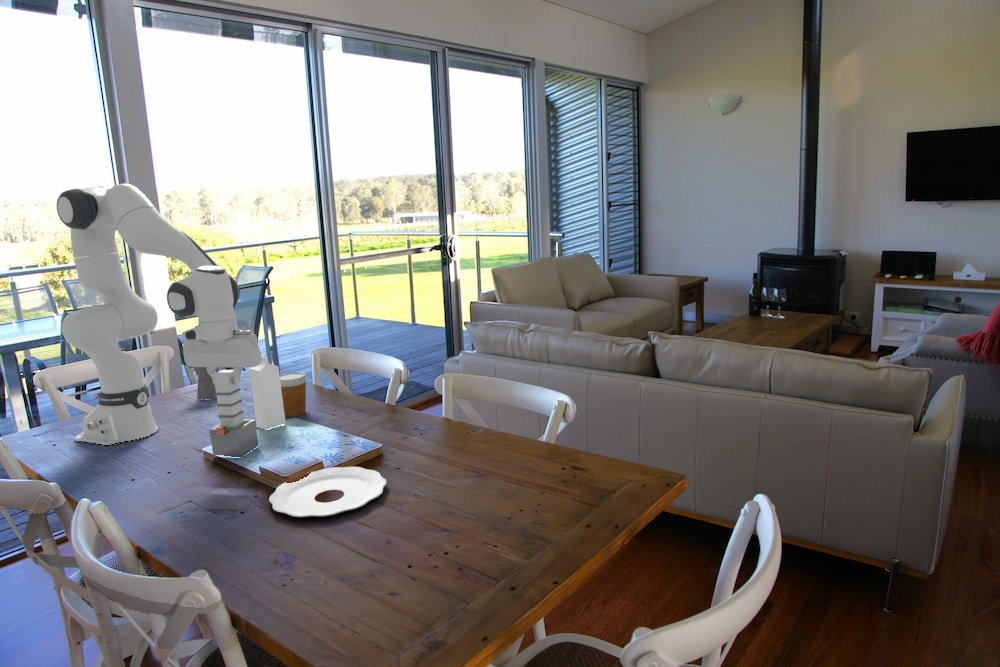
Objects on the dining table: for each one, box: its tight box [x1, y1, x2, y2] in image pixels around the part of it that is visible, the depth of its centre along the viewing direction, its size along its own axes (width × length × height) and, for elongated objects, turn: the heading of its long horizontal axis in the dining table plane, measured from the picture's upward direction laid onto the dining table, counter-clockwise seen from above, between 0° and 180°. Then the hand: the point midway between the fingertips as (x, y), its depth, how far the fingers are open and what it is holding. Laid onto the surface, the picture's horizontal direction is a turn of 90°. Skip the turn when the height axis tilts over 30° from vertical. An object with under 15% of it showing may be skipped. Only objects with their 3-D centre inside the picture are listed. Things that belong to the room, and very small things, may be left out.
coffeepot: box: [192, 367, 231, 401], centre depth 235 cm, size 15×9×18 cm, turn 125°
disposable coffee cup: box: [279, 372, 308, 417], centre depth 211 cm, size 10×10×12 cm
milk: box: [248, 355, 287, 430], centre depth 196 cm, size 6×6×22 cm
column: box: [213, 369, 245, 429], centre depth 176 cm, size 4×4×16 cm
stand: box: [208, 418, 260, 459], centre depth 178 cm, size 14×14×10 cm
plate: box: [268, 466, 387, 519], centre depth 152 cm, size 25×25×2 cm
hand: (226, 383), depth 175 cm, fingers closed on column, 4 cm apart
